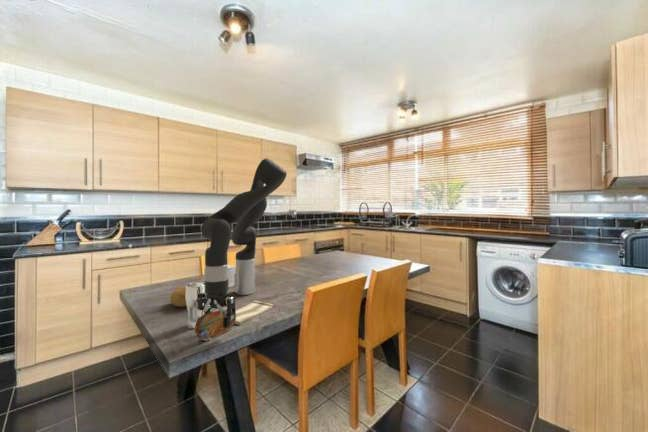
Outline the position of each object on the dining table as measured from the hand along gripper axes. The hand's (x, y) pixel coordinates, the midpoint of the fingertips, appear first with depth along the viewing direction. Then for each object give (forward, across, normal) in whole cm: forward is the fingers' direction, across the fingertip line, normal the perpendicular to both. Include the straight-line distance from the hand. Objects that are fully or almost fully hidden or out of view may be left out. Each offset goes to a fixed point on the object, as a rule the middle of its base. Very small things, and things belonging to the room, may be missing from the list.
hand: (217, 325), depth 93 cm
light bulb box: (+3, -41, +43) cm, 60 cm away
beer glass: (+3, -13, +2) cm, 13 cm away
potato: (+3, -34, +13) cm, 37 cm away
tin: (+4, 0, 0) cm, 4 cm away
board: (+3, -3, +19) cm, 20 cm away
